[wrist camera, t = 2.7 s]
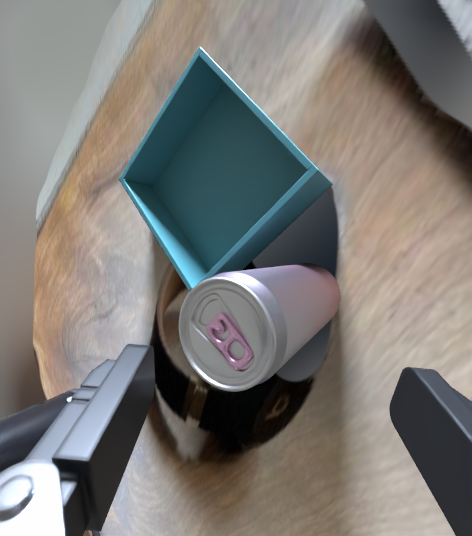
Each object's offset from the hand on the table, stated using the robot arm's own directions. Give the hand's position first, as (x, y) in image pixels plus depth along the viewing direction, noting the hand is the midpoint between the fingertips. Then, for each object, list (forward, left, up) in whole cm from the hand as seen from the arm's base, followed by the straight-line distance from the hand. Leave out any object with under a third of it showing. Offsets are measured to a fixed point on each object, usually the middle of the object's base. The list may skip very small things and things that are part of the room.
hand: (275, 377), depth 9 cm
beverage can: (+1, +4, -18) cm, 18 cm away
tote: (+13, +12, -18) cm, 25 cm away
